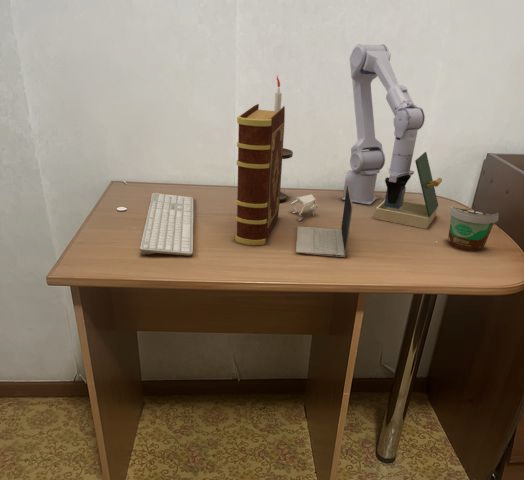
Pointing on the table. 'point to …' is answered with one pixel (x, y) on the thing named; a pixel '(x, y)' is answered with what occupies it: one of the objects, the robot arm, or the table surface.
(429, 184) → the box lid
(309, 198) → the origami figure
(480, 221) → the food container
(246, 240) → the decorative book
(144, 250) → the keyboard
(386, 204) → the block
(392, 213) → the tan tray
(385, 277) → the table surface
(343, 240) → the laptop
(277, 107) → the candlestick
